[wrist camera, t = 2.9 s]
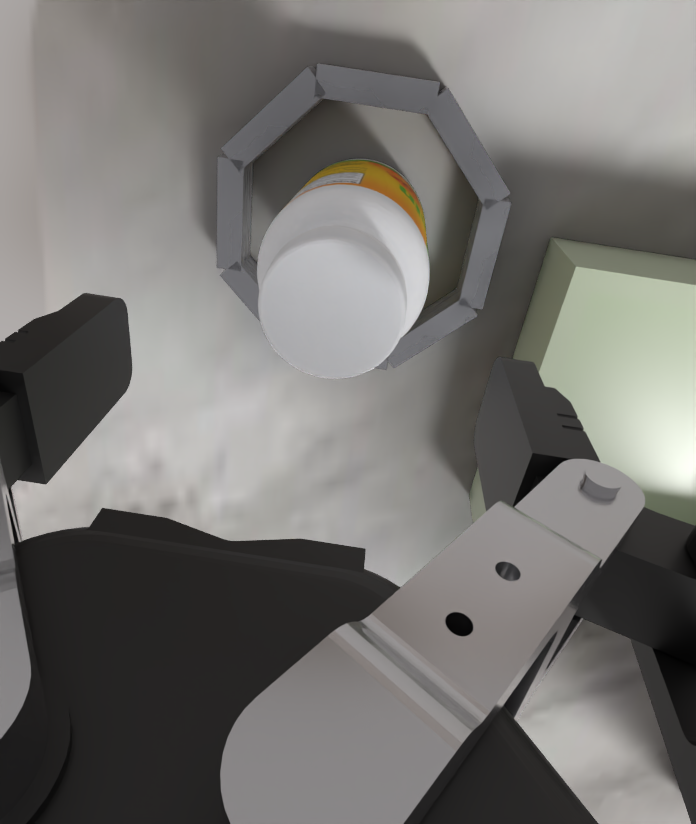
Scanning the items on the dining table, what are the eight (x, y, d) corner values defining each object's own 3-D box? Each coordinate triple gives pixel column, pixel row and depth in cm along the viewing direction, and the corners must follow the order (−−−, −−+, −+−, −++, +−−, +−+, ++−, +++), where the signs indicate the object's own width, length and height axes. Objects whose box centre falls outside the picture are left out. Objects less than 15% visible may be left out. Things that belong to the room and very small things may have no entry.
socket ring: (531, 96, 20) (540, 97, 19) (460, 366, 26) (462, 381, 25) (230, 49, 20) (217, 48, 19) (225, 329, 26) (216, 342, 25)
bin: (888, 289, 22) (974, 328, 19) (724, 536, 29) (765, 596, 26) (550, 236, 22) (575, 266, 19) (468, 494, 30) (476, 549, 26)
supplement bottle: (438, 272, 24) (453, 380, 15) (318, 303, 25) (273, 419, 17) (407, 137, 21) (406, 179, 13) (276, 179, 22) (197, 242, 14)
